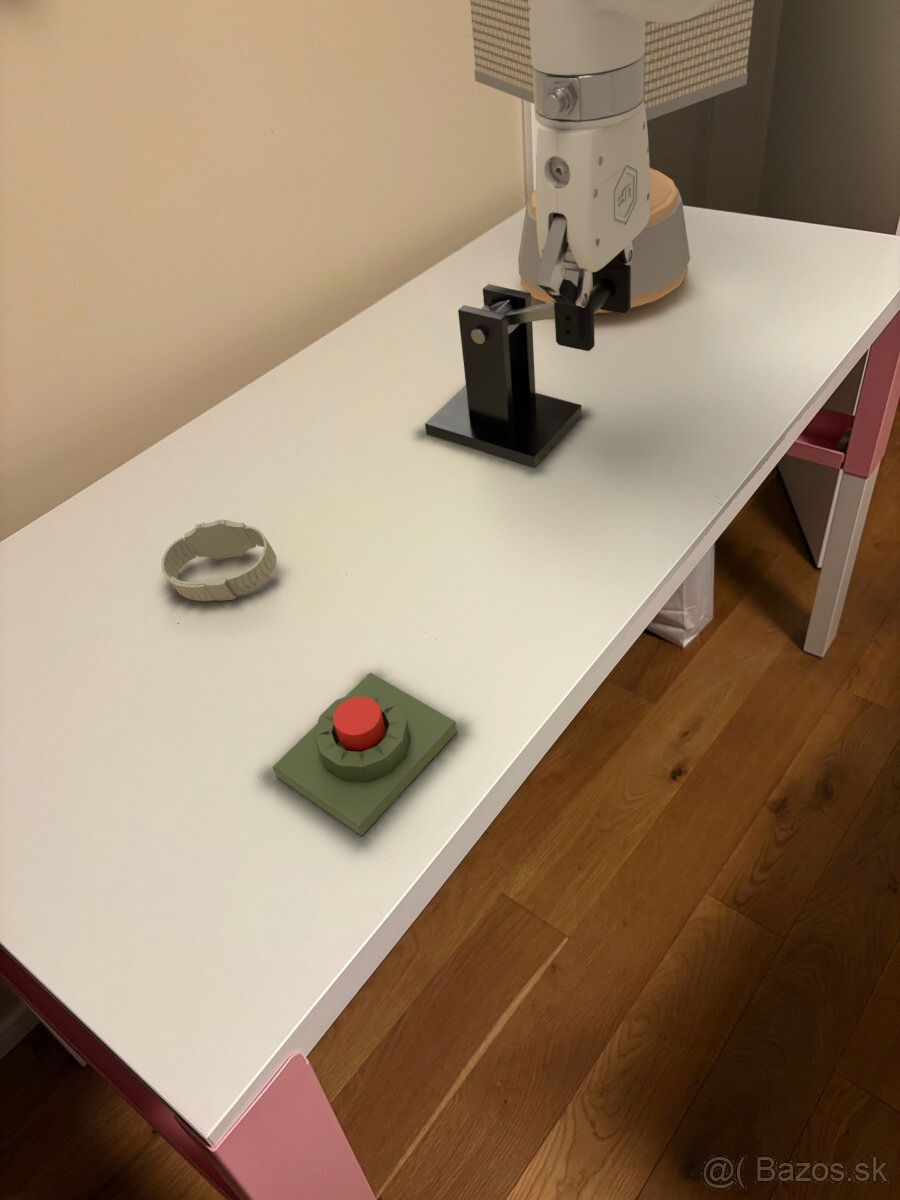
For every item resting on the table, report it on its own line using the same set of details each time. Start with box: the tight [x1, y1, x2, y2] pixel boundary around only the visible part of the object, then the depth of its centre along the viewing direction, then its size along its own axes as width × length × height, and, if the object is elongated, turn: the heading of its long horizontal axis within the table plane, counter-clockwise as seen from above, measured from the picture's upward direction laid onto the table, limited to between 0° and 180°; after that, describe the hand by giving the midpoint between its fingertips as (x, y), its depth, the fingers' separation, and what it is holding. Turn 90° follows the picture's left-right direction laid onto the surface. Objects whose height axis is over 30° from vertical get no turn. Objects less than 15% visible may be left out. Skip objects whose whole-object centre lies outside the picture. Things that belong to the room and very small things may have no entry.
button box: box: [272, 672, 458, 836], centre depth 64 cm, size 10×8×3 cm
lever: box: [480, 279, 616, 335], centre depth 80 cm, size 12×6×2 cm, turn 56°
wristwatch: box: [160, 519, 278, 602], centre depth 77 cm, size 9×6×5 cm
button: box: [333, 696, 385, 751], centre depth 63 cm, size 3×3×2 cm
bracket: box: [424, 283, 583, 468], centre depth 86 cm, size 12×9×13 cm
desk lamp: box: [469, 0, 755, 315], centre depth 95 cm, size 22×19×37 cm
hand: (593, 325), depth 78 cm, fingers closed on lever, 5 cm apart
